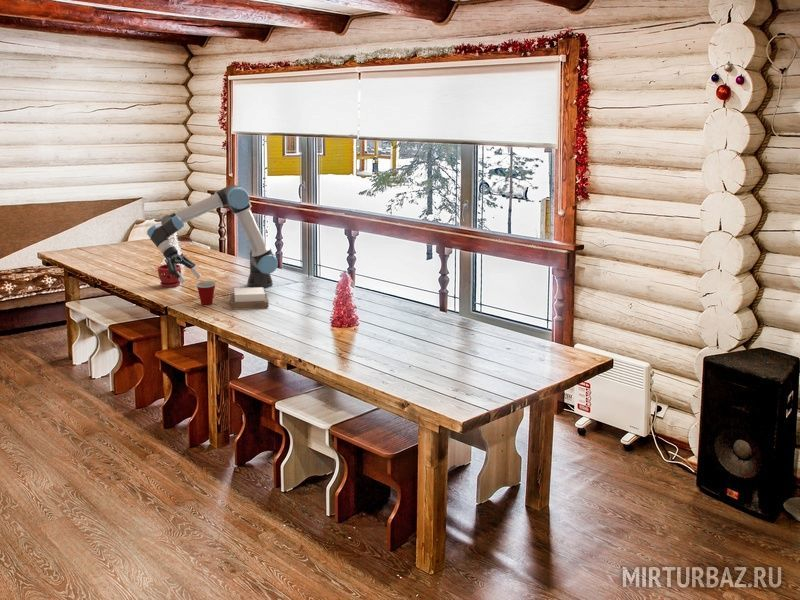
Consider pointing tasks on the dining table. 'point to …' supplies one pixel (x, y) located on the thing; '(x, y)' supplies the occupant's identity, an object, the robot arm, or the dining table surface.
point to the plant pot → (168, 276)
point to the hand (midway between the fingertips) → (191, 279)
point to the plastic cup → (206, 292)
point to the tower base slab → (248, 303)
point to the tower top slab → (249, 294)
